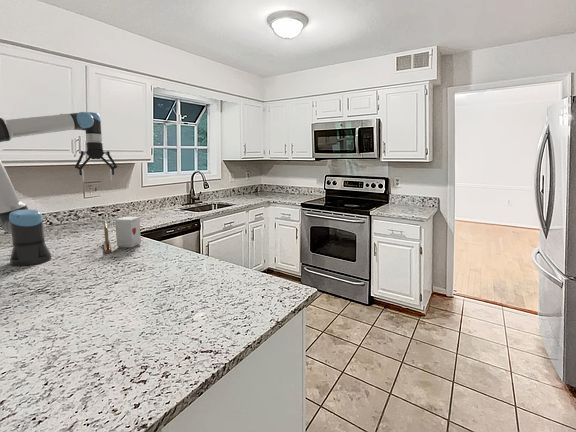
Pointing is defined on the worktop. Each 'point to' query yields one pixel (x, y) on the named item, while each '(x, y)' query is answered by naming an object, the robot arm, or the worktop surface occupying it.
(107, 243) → the cabinet door handle
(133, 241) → the supplement box
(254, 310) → the worktop surface
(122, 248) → the mat
